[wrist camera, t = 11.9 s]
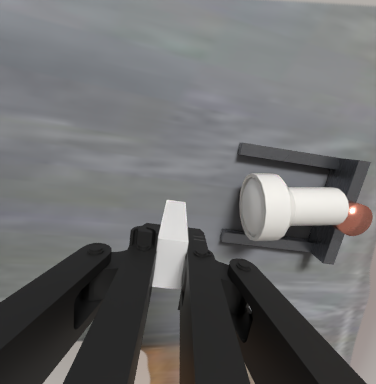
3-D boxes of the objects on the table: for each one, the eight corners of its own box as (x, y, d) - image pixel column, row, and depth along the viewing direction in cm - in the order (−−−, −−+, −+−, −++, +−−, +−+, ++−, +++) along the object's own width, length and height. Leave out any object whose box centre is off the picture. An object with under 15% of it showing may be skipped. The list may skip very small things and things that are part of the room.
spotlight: (240, 164, 26) (266, 189, 19) (322, 165, 27) (377, 190, 20) (232, 217, 30) (252, 256, 22) (305, 216, 31) (347, 253, 23)
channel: (220, 238, 30) (229, 259, 25) (240, 142, 27) (255, 143, 22) (321, 250, 32) (351, 272, 26) (352, 160, 28) (393, 165, 23)
